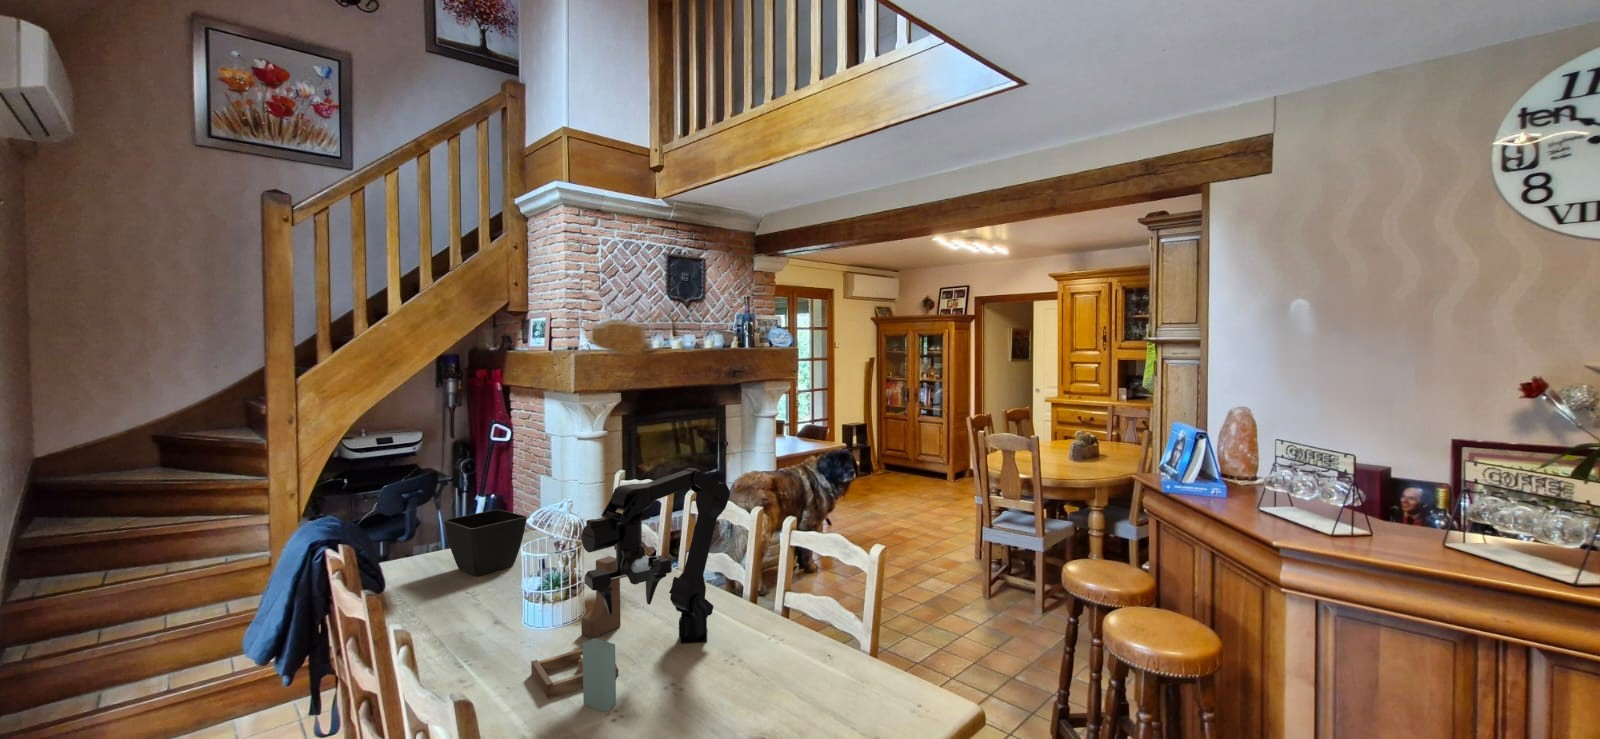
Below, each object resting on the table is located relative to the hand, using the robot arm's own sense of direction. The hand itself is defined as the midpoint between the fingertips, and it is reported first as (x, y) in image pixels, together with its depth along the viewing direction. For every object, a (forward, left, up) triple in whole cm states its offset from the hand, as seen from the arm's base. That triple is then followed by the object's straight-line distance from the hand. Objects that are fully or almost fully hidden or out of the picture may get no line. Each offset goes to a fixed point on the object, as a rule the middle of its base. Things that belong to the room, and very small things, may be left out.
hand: (629, 609), depth 142 cm
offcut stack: (+8, +1, -13) cm, 16 cm away
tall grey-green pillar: (+4, +15, -13) cm, 21 cm away
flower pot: (+57, -73, -13) cm, 94 cm away
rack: (+12, +3, -13) cm, 18 cm away
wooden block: (+10, -19, -13) cm, 25 cm away
